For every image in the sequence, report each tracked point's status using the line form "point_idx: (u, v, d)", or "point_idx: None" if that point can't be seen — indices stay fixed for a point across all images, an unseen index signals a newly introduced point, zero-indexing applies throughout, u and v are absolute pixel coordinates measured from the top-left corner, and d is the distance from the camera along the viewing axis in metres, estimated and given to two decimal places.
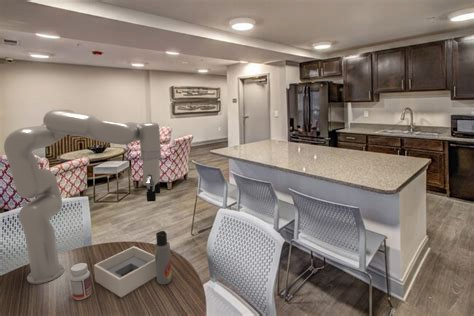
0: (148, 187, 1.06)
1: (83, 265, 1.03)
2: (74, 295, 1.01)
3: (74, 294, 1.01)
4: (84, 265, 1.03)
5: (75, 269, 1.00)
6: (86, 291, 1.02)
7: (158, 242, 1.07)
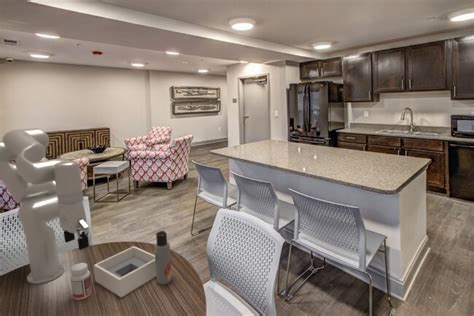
0: (86, 232, 0.95)
1: (83, 265, 1.03)
2: (74, 295, 1.01)
3: (74, 294, 1.01)
4: (84, 265, 1.03)
5: (75, 269, 1.00)
6: (86, 291, 1.02)
7: (158, 242, 1.07)
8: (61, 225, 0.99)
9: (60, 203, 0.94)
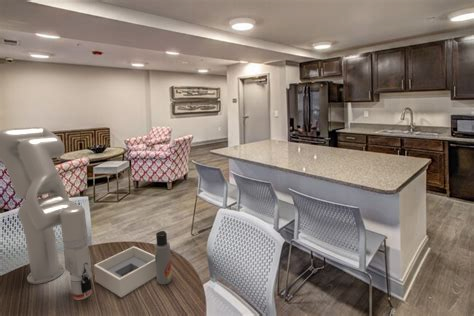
0: None
1: None
2: (74, 295, 1.01)
3: (74, 294, 1.01)
4: None
5: None
6: None
7: (158, 242, 1.07)
8: (66, 267, 1.02)
9: (66, 248, 0.97)
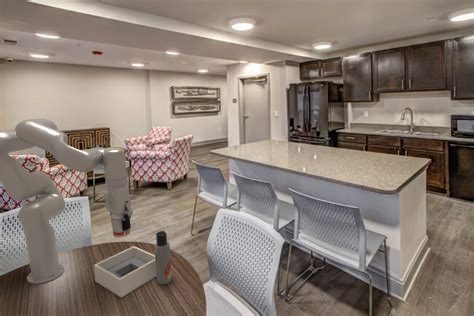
0: (129, 215, 1.05)
1: None
2: (115, 233, 1.07)
3: (115, 232, 1.07)
4: None
5: None
6: None
7: (158, 242, 1.07)
8: (107, 207, 1.08)
9: (108, 186, 1.03)
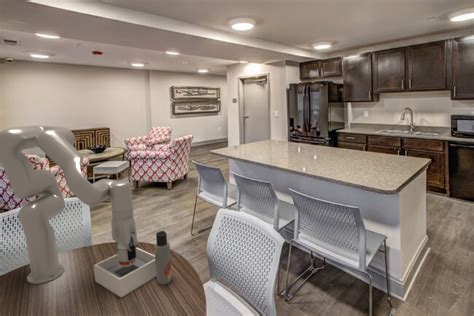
0: (135, 245, 1.08)
1: None
2: (121, 262, 1.10)
3: (121, 261, 1.10)
4: None
5: None
6: None
7: (158, 242, 1.07)
8: (113, 237, 1.11)
9: (115, 218, 1.06)
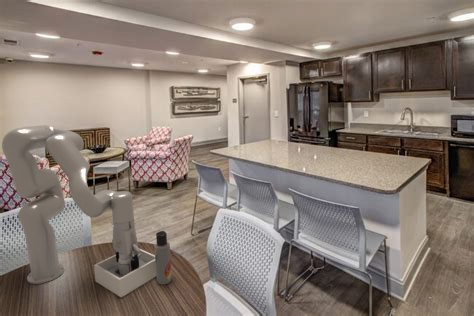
0: (138, 255, 1.08)
1: None
2: None
3: (122, 276, 1.11)
4: None
5: None
6: None
7: (158, 242, 1.07)
8: (115, 248, 1.12)
9: (116, 229, 1.07)
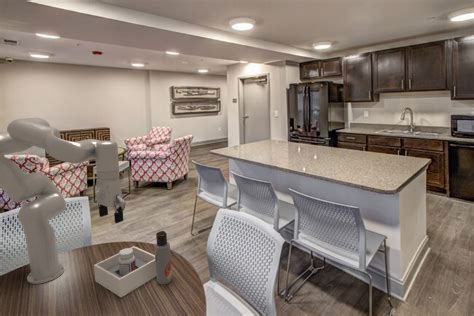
0: (122, 207, 1.03)
1: (130, 250, 1.13)
2: None
3: (122, 276, 1.11)
4: (130, 250, 1.13)
5: (123, 253, 1.11)
6: None
7: (158, 242, 1.07)
8: (98, 200, 1.06)
9: (100, 179, 1.02)
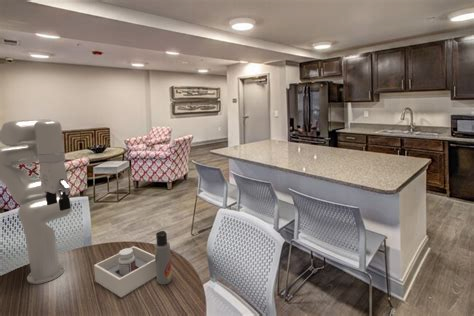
0: (67, 192, 0.94)
1: (129, 250, 1.13)
2: None
3: (122, 276, 1.11)
4: (130, 250, 1.13)
5: (123, 253, 1.11)
6: None
7: (158, 242, 1.07)
8: (42, 186, 0.97)
9: (41, 162, 0.93)
